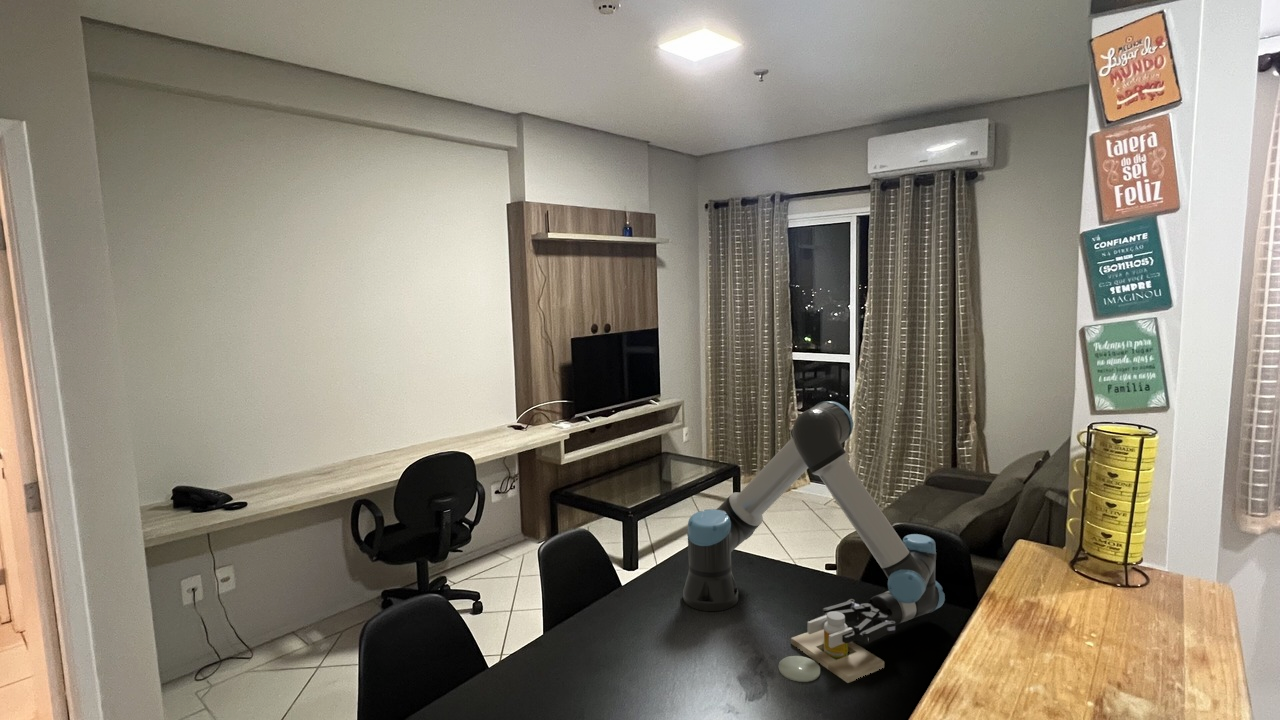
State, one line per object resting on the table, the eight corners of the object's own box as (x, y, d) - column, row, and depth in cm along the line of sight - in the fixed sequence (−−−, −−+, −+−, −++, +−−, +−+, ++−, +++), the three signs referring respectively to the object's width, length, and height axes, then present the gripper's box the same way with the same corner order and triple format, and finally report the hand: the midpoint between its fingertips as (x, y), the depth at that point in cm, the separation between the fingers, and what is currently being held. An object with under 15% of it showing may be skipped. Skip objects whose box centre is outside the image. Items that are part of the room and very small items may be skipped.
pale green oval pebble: (770, 665, 145) (770, 663, 144) (800, 654, 149) (800, 651, 149) (797, 686, 137) (797, 684, 137) (829, 673, 141) (829, 671, 141)
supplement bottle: (849, 663, 145) (849, 622, 144) (824, 661, 146) (824, 620, 145) (846, 649, 150) (846, 610, 149) (823, 648, 151) (822, 608, 150)
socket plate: (791, 643, 153) (791, 637, 153) (825, 631, 158) (825, 625, 158) (847, 683, 137) (847, 676, 137) (884, 667, 142) (884, 661, 142)
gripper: (924, 641, 147) (850, 671, 137) (860, 606, 164) (790, 631, 153) (925, 610, 146) (850, 638, 136) (860, 578, 163) (790, 601, 153)
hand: (819, 634), depth 145 cm, fingers open, 6 cm apart
